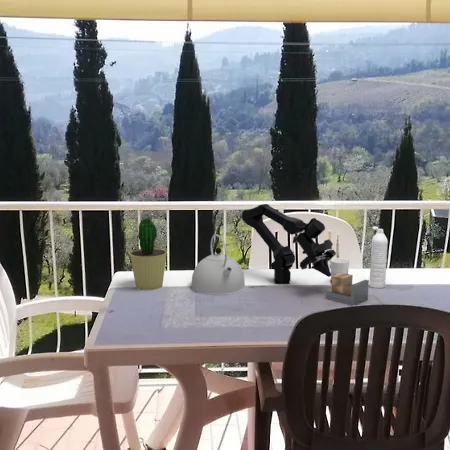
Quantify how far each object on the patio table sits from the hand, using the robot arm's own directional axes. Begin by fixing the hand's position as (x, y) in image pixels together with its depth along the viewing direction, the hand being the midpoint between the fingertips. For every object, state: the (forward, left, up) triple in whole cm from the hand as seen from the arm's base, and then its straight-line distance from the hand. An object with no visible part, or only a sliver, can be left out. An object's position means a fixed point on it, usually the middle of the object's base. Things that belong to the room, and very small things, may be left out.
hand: (329, 276), depth 223 cm
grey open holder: (+6, -6, -8) cm, 11 cm away
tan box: (+4, -4, -6) cm, 8 cm away
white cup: (+7, +17, -8) cm, 20 cm away
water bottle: (+22, +13, -8) cm, 27 cm away
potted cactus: (-75, +12, -8) cm, 76 cm away
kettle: (-45, +10, -8) cm, 47 cm away
